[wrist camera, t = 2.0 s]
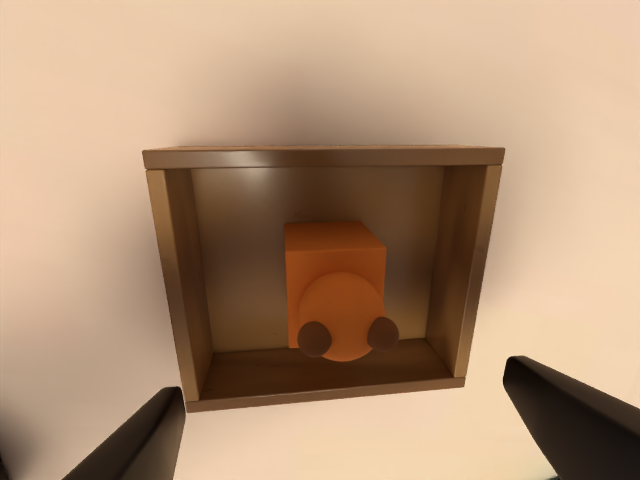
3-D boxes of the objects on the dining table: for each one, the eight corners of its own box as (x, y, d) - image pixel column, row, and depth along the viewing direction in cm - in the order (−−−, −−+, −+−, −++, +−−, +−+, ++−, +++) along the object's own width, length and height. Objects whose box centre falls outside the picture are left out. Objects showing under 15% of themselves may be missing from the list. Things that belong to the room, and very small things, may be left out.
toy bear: (358, 296, 19) (407, 396, 12) (287, 300, 18) (291, 407, 11) (361, 220, 17) (419, 281, 10) (284, 222, 17) (286, 288, 10)
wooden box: (430, 340, 21) (464, 387, 17) (205, 357, 19) (186, 414, 16) (454, 144, 17) (506, 147, 13) (176, 146, 16) (140, 150, 12)
